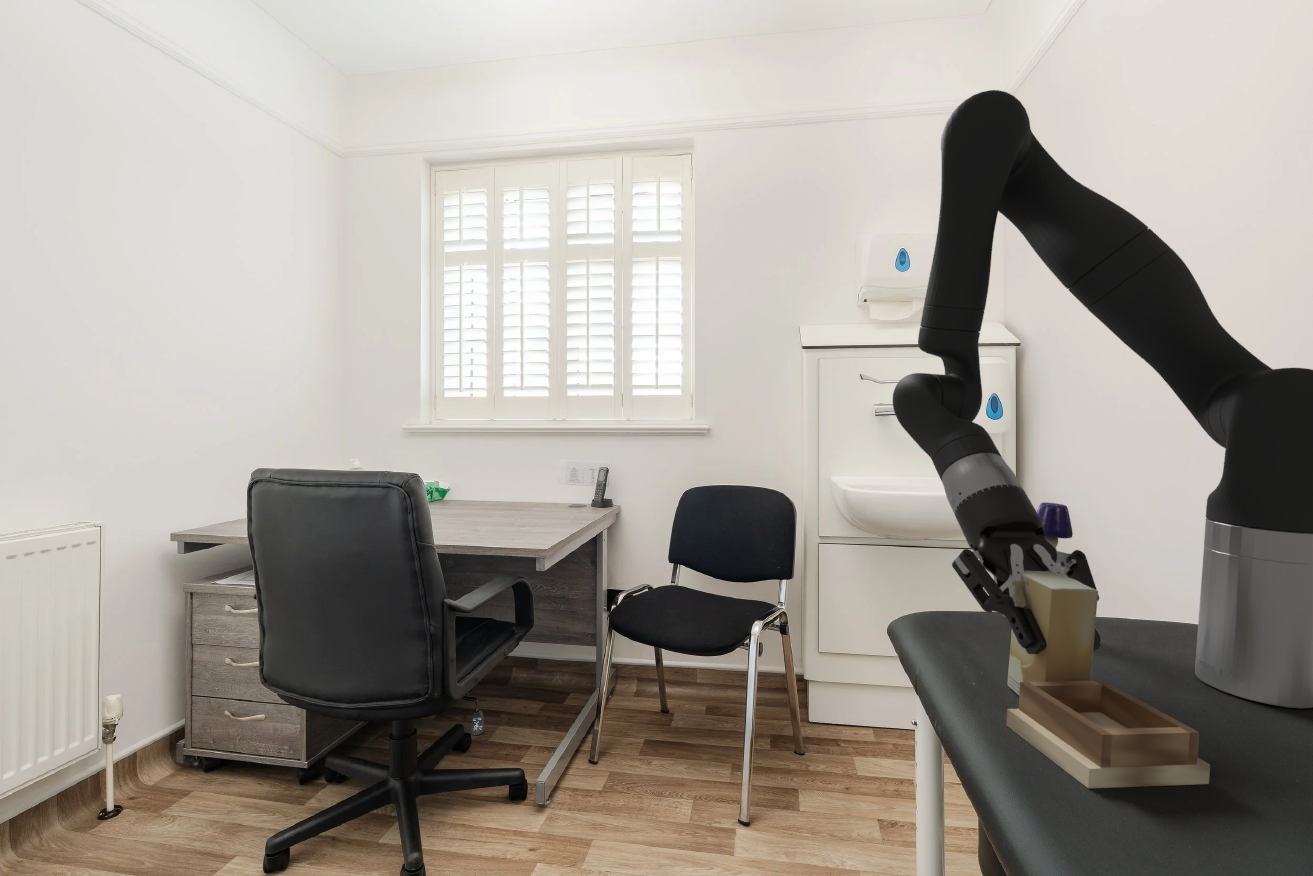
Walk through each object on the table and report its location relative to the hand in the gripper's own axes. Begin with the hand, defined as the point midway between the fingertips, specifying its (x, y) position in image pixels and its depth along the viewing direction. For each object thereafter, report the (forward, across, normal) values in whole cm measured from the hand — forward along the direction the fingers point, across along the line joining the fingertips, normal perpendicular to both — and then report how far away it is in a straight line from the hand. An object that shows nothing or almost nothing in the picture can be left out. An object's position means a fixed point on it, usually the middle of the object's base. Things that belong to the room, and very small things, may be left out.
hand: (1064, 650), depth 56 cm
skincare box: (+3, 0, +6) cm, 6 cm away
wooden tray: (+9, -2, 0) cm, 9 cm away
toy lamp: (-10, +15, +19) cm, 26 cm away
